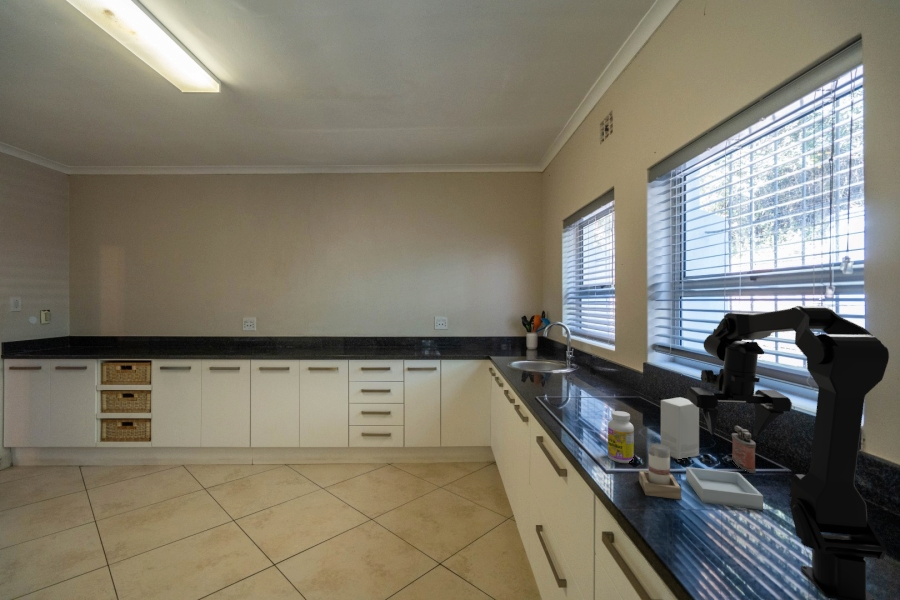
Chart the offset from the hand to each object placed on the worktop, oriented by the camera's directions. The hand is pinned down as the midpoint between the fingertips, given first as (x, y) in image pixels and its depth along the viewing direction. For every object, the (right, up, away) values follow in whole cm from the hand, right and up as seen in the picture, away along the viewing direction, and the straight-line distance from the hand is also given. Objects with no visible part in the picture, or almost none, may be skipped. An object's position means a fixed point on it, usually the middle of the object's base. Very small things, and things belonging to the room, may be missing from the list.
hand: (733, 434), depth 86 cm
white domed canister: (-15, -14, +3) cm, 21 cm away
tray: (-2, -14, +1) cm, 14 cm away
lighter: (+14, -14, +15) cm, 25 cm away
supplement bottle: (-17, -14, +20) cm, 30 cm away
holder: (-15, -14, +3) cm, 21 cm away
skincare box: (+2, -14, +23) cm, 27 cm away
